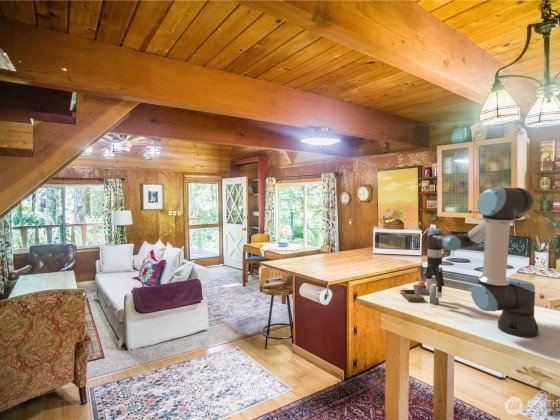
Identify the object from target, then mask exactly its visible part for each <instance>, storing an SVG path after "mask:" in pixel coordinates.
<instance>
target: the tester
mask: <svg viewBox="0 0 560 420" xmlns="http://www.w3.org/2000/svg"><path fill="white" fill-rule="evenodd" d="M413 290H416V291H417V292H418V293H419V294H420V295H430V290H427V284H425V288H421V287H418V284H413Z"/></svg>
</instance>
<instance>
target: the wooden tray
mask: <svg viewBox="0 0 560 420" xmlns="http://www.w3.org/2000/svg"><path fill="white" fill-rule="evenodd" d="M400 295H401V296H402V297H403V298H404V299H405V300H406V301H407V302H408V303H425V296H423V294H419V293H418V292H417V291H416V290H414V289H400Z"/></svg>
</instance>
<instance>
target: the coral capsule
mask: <svg viewBox="0 0 560 420" xmlns="http://www.w3.org/2000/svg"><path fill="white" fill-rule="evenodd" d="M417 285H418V287H421V288H425V285H426V282H425V281H424V280H417Z"/></svg>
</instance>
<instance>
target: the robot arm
mask: <svg viewBox="0 0 560 420" xmlns="http://www.w3.org/2000/svg"><path fill="white" fill-rule="evenodd" d="M534 205H535V199H534V195H533V194H532V193H531V192H530V191H529V190H528V189H525V188H523V187H491V188H487V189H485V190H483V192H481V193H480V195H479V196H478V199H477V202H476V207H477V210H478V212H479V213H480V214H481V215H482V219H483V220H482V221H481V222H480V223H478V224H476V226H474V227H473V228H472V229H471V230H469V231H468V232H466V233H464V234H444V230H443V229H441V228H430V229H428V230H427V231H428V232H427V251H426V252H427V254H426V255H427V257H426V258H427V259H426V261H427V265H426V270H425V275H424V276H425V278H426V286H427V290H429V291H430V285H433V276H434V277H435V282H436V284H435V285H436V298H439V299H442V298H443V287H445V282H444V277H443V267H440V265H442V264H443V252H444V250H448V251H453V252H455V251H457V250H462V249H463V250H464V249H476V248H477V249H478V248H480V247H481V246H482V244H483V241H484V250H483V262H482V263H483V265H482V275H481V276H479V277H478V278H477V280H478V281H477V284H475V285H473V286H472V287H471V290H470V295H471V299H472V301H473V303H474V304H475V305H476V307H478V308H479V309H480V310H481V311H483V312H496V311H497V312H498V311H502V312H501V314H500V316H499V318H498V319H497V328H498V329H499V330H500V331H502V332H503V333H506V334H508V335H511V336H517V337H520V338H521V337H522V338H535V337H538V336H539V334H540V333H539V332H540V331H539V327H538V323H537V320H536V317H535V305H536V304H535V303H536V301H535V300H536V288H535V287H536V286H535V285H534V283H533V282H530V281H527V280H525V279H518V278H514V277H513V278H512V277H507V269H508V268H507V266H508V255H509V244H510V243H509V242H510V230H511V228H510V227H511V224H512V223H513V222H514V221H516V220H521V219H522V218H523V217H525V216H526V215H528V214H529V213H530V211H532V209H533V208H534ZM443 249H444V250H443Z"/></svg>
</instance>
